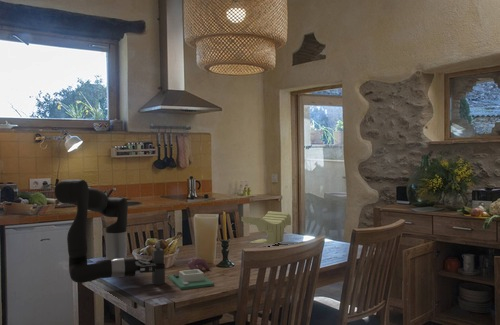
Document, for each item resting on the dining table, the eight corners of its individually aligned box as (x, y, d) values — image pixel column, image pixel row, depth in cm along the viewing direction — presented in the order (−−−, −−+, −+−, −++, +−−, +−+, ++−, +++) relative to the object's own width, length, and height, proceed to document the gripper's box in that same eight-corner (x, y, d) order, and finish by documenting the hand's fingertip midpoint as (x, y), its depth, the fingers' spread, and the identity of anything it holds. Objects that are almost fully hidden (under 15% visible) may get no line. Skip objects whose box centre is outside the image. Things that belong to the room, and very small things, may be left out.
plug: (152, 282, 199) (152, 241, 199) (163, 281, 201) (163, 241, 201) (154, 285, 195) (154, 243, 195) (165, 283, 197) (165, 242, 197)
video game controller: (204, 272, 223) (200, 257, 225) (211, 269, 220) (206, 254, 222) (189, 276, 215) (184, 261, 217) (196, 273, 213) (191, 258, 215)
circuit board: (168, 277, 207) (168, 268, 207) (199, 274, 212) (199, 265, 212) (180, 289, 189) (180, 279, 188) (214, 285, 194) (214, 275, 194)
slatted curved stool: (265, 250, 265) (265, 218, 264) (241, 247, 274) (241, 216, 273) (291, 242, 290) (291, 212, 289) (268, 239, 299) (268, 211, 298)
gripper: (125, 261, 185) (166, 258, 192) (119, 254, 198) (158, 251, 205) (125, 280, 186) (166, 276, 192) (119, 272, 199) (158, 268, 205)
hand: (162, 263), depth 199 cm, fingers open, 8 cm apart
